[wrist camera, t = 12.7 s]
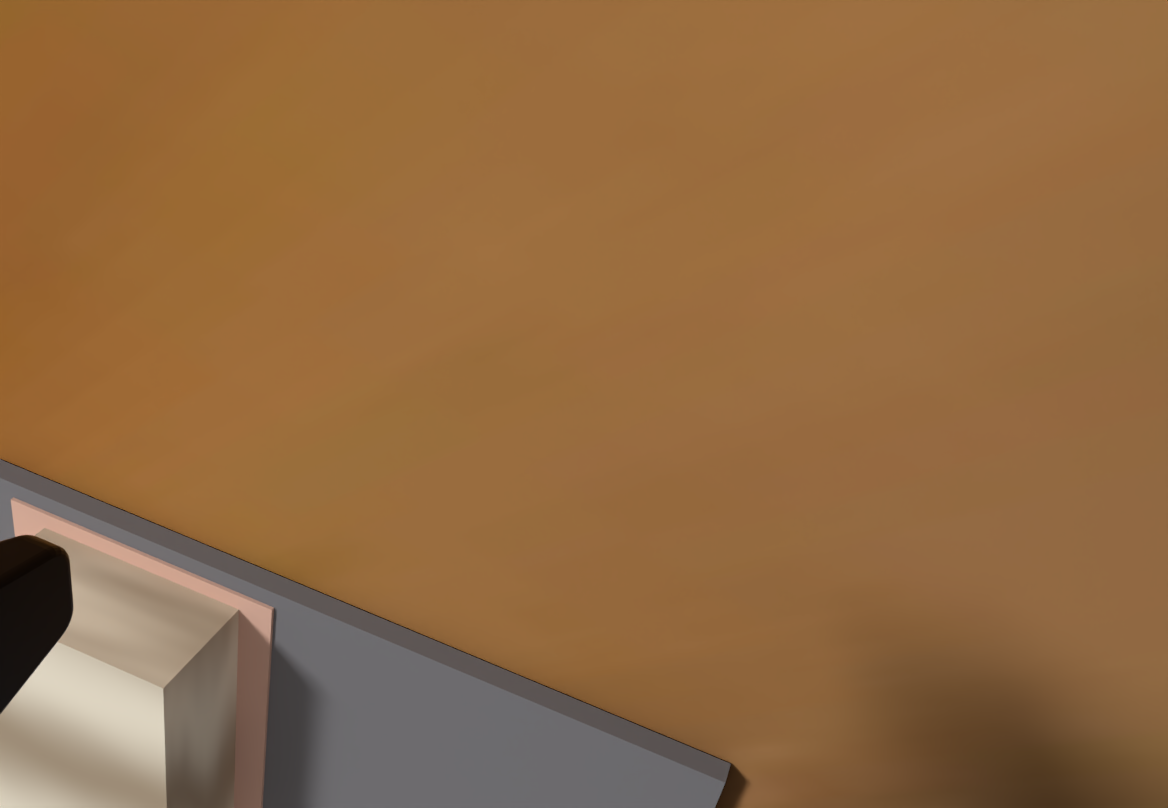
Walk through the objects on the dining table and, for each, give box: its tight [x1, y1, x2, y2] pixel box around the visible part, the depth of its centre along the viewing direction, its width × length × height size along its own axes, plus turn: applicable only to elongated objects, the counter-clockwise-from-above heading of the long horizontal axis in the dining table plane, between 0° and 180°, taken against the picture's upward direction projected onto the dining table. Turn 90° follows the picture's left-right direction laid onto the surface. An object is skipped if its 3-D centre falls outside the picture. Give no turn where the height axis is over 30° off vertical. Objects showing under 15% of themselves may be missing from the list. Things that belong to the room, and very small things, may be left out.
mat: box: [0, 459, 731, 808], centre depth 30 cm, size 21×12×1 cm, turn 78°
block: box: [0, 528, 239, 808], centre depth 30 cm, size 10×6×3 cm, turn 168°
